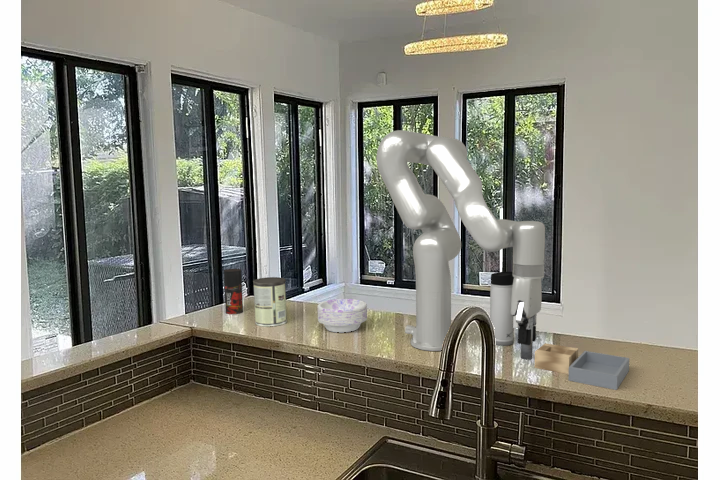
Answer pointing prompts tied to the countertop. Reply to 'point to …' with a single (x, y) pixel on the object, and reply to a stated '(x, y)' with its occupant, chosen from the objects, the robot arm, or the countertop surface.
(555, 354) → the block
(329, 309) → the paper bowls
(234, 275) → the deodorant
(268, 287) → the coffee can
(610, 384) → the tray
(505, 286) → the travel mug
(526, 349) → the cylinder
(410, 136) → the robot arm
